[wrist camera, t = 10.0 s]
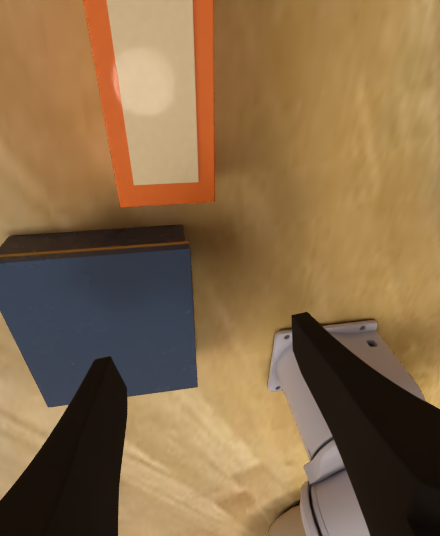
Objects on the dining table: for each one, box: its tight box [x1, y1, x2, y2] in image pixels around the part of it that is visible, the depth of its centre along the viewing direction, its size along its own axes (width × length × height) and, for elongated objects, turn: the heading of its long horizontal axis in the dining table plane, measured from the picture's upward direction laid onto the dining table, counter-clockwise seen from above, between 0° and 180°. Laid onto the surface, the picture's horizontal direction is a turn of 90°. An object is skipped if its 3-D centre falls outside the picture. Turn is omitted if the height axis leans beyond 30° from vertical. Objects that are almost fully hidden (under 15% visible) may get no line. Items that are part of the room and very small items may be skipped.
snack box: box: [83, 0, 215, 207], centre depth 15 cm, size 9×5×4 cm, turn 0°
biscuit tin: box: [0, 225, 198, 407], centre depth 22 cm, size 11×12×4 cm
